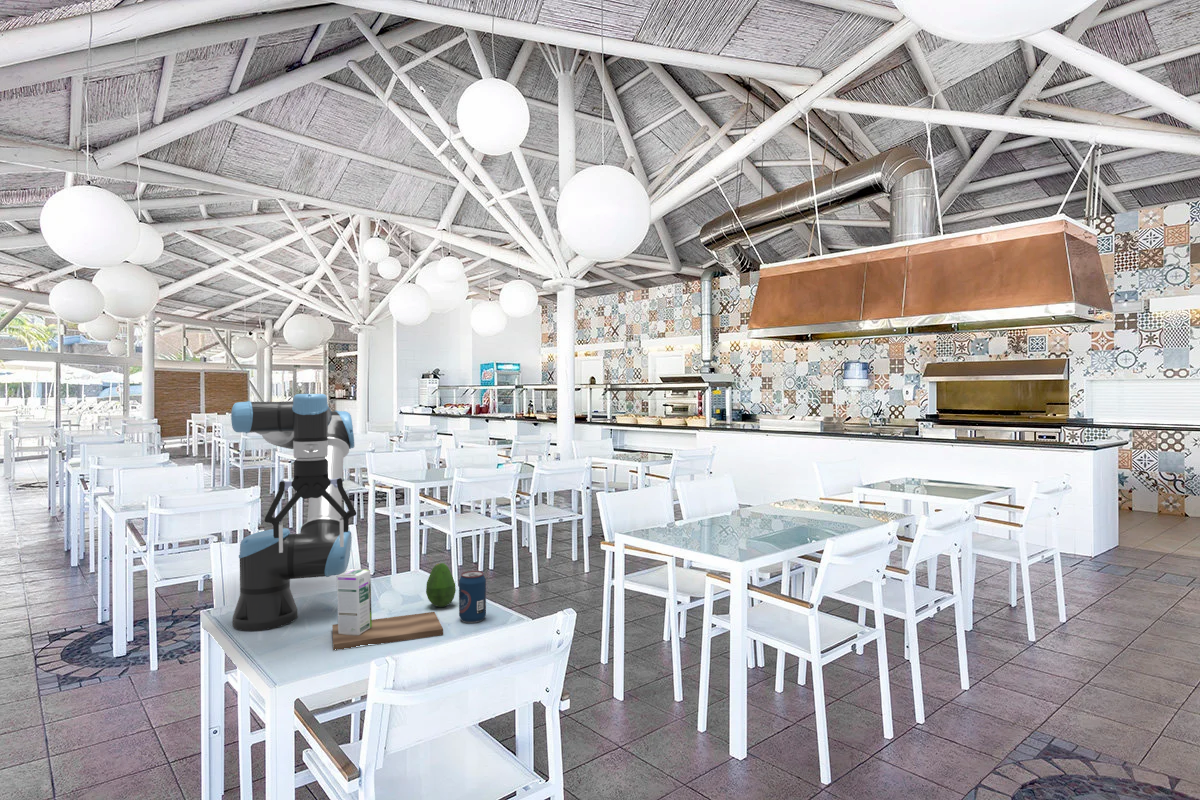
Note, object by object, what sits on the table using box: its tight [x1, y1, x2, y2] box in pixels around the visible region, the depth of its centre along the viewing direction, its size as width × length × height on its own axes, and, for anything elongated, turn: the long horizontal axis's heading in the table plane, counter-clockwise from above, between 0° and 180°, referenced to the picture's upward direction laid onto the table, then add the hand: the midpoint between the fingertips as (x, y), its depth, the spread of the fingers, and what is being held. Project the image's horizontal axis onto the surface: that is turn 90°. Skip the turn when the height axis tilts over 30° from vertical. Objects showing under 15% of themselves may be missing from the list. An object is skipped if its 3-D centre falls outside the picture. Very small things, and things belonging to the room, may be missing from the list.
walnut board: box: [331, 611, 444, 651], centre depth 164 cm, size 14×25×2 cm, turn 113°
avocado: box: [425, 562, 457, 608], centre depth 184 cm, size 8×8×12 cm
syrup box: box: [336, 568, 373, 636], centre depth 161 cm, size 6×6×14 cm
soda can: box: [458, 570, 487, 624], centre depth 174 cm, size 7×7×12 cm
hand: (311, 548), depth 158 cm, fingers open, 12 cm apart
